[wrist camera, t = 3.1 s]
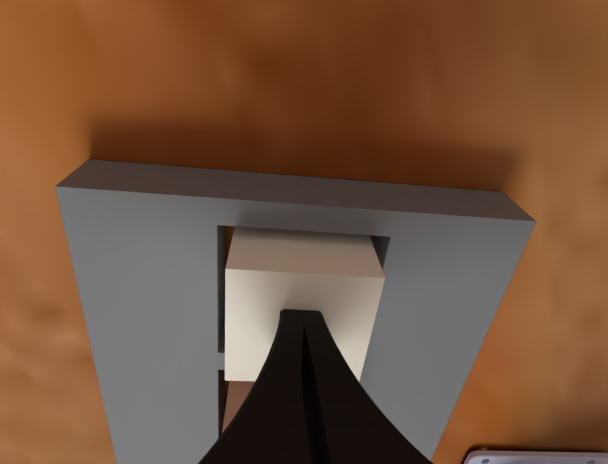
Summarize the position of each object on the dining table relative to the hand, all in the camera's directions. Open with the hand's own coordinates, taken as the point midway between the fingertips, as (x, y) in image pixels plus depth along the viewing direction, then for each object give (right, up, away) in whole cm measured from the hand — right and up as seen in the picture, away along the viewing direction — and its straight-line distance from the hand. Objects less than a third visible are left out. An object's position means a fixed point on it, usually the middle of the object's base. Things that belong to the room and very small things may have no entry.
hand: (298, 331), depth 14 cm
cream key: (0, +2, +3) cm, 4 cm away
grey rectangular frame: (-1, -4, +7) cm, 8 cm away
